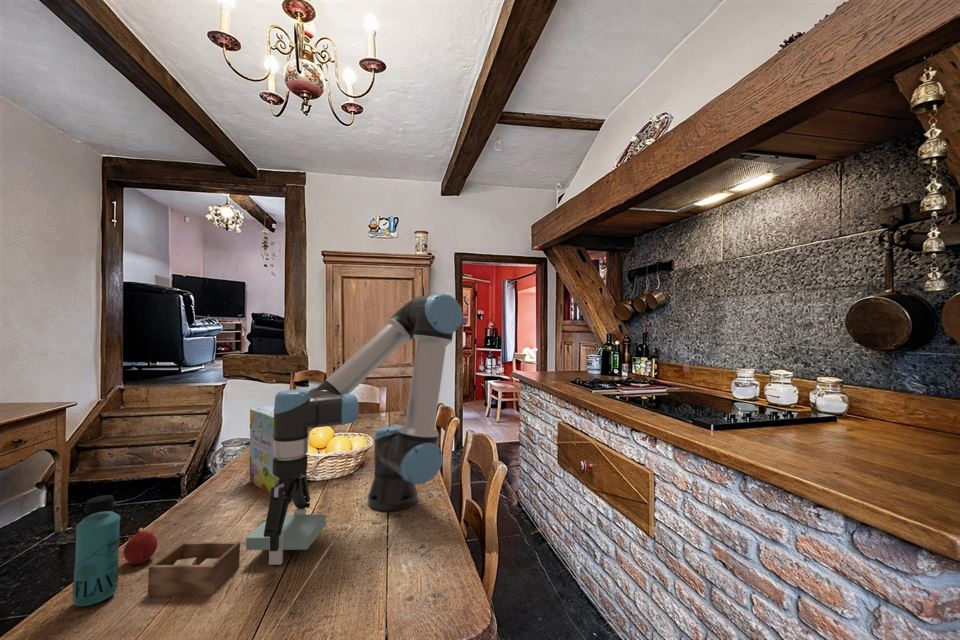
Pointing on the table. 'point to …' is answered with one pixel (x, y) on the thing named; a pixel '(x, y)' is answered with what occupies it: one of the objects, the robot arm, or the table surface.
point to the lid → (290, 533)
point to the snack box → (262, 448)
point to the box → (194, 569)
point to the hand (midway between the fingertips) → (288, 548)
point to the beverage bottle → (96, 553)
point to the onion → (140, 547)
